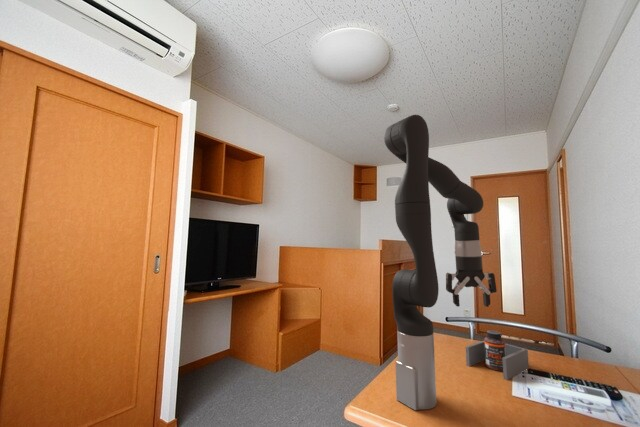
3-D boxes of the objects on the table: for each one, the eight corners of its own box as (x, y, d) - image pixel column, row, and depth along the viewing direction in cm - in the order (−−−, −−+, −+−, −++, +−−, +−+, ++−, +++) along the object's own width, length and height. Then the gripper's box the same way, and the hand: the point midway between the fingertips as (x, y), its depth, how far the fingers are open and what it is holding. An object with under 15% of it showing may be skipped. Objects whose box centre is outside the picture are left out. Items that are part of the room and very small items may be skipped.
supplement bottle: (488, 370, 92) (485, 333, 93) (483, 363, 97) (481, 328, 99) (509, 372, 90) (506, 335, 91) (503, 365, 96) (500, 330, 97)
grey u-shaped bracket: (507, 380, 85) (505, 358, 86) (466, 365, 96) (465, 346, 96) (529, 368, 93) (527, 349, 94) (489, 356, 103) (488, 338, 104)
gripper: (447, 256, 89) (451, 309, 88) (497, 255, 87) (501, 309, 86) (441, 254, 96) (444, 303, 95) (487, 253, 94) (490, 303, 93)
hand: (471, 306), depth 90 cm, fingers open, 8 cm apart
